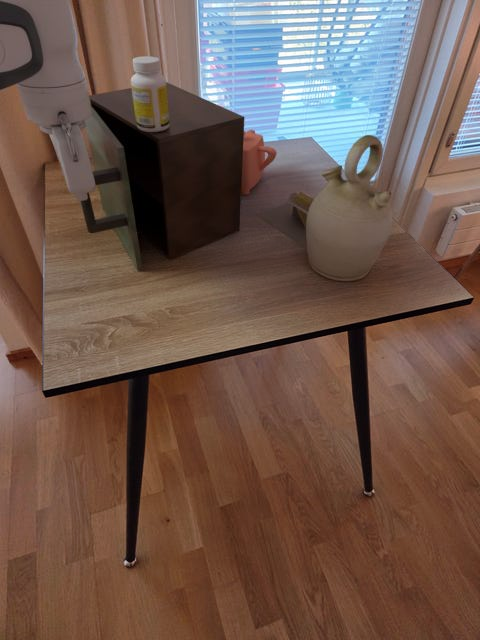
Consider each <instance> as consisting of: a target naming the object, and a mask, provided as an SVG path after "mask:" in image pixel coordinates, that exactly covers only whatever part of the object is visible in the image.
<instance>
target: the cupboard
mask: <svg viewBox="0 0 480 640" xmlns="http://www.w3.org/2000/svg"><path fill="white" fill-rule="evenodd" d="M166 88H167V101H168V112H169V127H168V129H166V130H164V131H160V132H145V131H142V130H140V129H139V128H138V127H137V124H136V117H135V110H134V102H133V95H132V88H131V87H128V88H124V89H117V90H112V91H108V92H106V91H105V92H100V93H96V94H89V97H90V102H91V106H92V107H93V109H94V110H95V111H96V113H97V114H98V115H99V116H100V118H101V119H102V120H103V122H104V123H105V124H106V125H107V127H108V128H109V129H110V131H111V132H112V133H113V134H114V136H115V137H116V138H117V140H118V141H119V142H120V143H121V145H122V146H123V147H124V152H125V159H126V165H127V172H128V178H129V185H130V191H131V197H132V204H133V210H134V217H135V223H136V230H137V234H138V235H139V236H141V237H142V238H143V239H145V240H146V241H147V243H149V244H150V245H152V246H153V247H154V248H155V249H156V250H158V251H159V252H160V253H161V254H162V255H163V256H164V257H165V258H167V259H168V260H169V261H172V260H175V259H177V258H179V257H182V256H184V255H187V254H188V253H191V252H193V251H196V250H198V249H200V248H203V247H205V246H207V245H210V244H212V243H214V242H216V241H219V240H222V239H224V238H226V237H228V236H231V235H233V234H235V233H238V232H240V230H241V229H240V227H241V206H242V194H241V186H242V163H243V141H244V131H245V116H243V115H241V114H239V113H237V112H234V111H232V110H230V109H228V108H226V107H224V106H221V105H219V104H217V103H215V102H212V101H210V100H207V99H206V98H203V97H200V96H199V95H197V94H195V93H193V92H190V91H187V90H186V89H183V88H181V87H178V86H176V85H174V84H173V83H169V82H167V81H166Z"/></svg>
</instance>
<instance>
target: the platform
mask: <svg viewBox="0 0 480 640" xmlns="http://www.w3.org/2000/svg"><path fill="white" fill-rule="evenodd" d="M314 199H315V198H312V196H309V195H307V194H306V193H304V192H302V191H301V190H300V191H299V193H298V192H296V191H295V192H292V193H290V195H289V198H288V202H285V203H282V204H280V205H276V206H274V207H272V208H269V209H266V210H263V211H260V212H257V213H256V215H257V216H258V217H259V218H261V219H262V220H264V222H266V223H268V224H269V225H270V226H272V227H274V228H275V229H277V230H278V231H279V232H281V233H282V234H284V235H285V236H286V237H288V238H289V239H291V240H292V241H294V242H295V243H296V244H298V245H299V246H300V247H302V248H304V249H305V250H306V251H307V240H306V220H307V214H308V211H309V208H310V206H311V204H312V202H313V200H314Z"/></svg>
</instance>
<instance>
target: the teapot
mask: <svg viewBox="0 0 480 640" xmlns="http://www.w3.org/2000/svg"><path fill="white" fill-rule="evenodd" d="M266 153H267V157H266ZM276 157H277V150H276V149H275V148H273V147H271V146H265V142H264V136H263V135H262V134H259V133H256V131H255V130H254V129H248V130H247V131H245V130H244V141H243V163H242V186H241V195H244V196H245V195H246V196H247V195H249V194H250V190H251V189H253V188H254V187H255V186H256V185H257V184H258V183H259V181H260V180H261V178H262V176H263V174H264V171H265V168H267V167H268V166H269V165H270V164H272V163H273V162H274V160H275V159H276Z"/></svg>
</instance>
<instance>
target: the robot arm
mask: <svg viewBox="0 0 480 640" xmlns="http://www.w3.org/2000/svg"><path fill="white" fill-rule="evenodd" d="M75 23H76V22H75V18H74V13H73V10H72V6H71V2H70V0H0V91H1V90H5V89H8V88H10V87H12V86H15V85H16V87H17V90H18V94H19V97H20V100H21V102H22V106H23V111H24V113H25V116H26V118H27V120H28V121H30V122H31V123H34V124H36V125H38V127H39V130H40V131H41V132H43V133H44V134H47V135H49V138H50V140H51V142H52V145H53V148H54V151H55V154H56V157H57V160H58V163H59V166H60V168H61V172H62V175H63V177H64V180H65V183H66V186H67V189H68V192H69V193H70V194H71V195H73V196H75V199H76V201H77V202H81V201H83V200H87V199H88V195H87V193H89V194H90V193H93V192H95V191H96V186H97V185H95V179H94V175H93V171H94V170H93V167H92V161H91V159H90V155H89V150H88V147H87V143H86V140H85V138H84V136H83V133H82V131H83V130H84V129H86V122H85V120H86V119H87V118H89V117H90V116H91V115H92V107H91V102H90V97H89V95H90V93H89V87H88V82H87V78H86V73H85V71H84V68H83V67H82V64H81V62H80V58H79V51H78V50H79V49H78V45H79V38H78V33H77V28H76V24H75Z"/></svg>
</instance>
